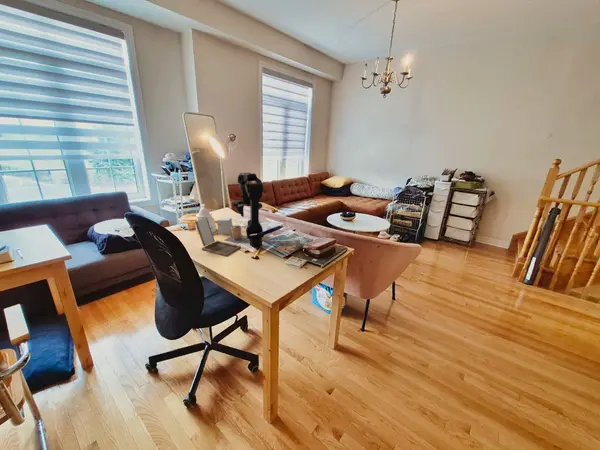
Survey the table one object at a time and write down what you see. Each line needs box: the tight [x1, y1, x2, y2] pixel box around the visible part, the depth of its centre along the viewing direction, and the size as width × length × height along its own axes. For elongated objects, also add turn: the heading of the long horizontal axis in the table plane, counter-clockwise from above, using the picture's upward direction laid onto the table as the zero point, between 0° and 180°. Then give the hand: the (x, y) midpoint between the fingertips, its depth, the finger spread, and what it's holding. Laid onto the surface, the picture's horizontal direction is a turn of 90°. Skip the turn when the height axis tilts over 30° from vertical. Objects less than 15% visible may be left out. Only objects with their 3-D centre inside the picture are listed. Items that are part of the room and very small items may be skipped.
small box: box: [216, 217, 233, 235], centre depth 161 cm, size 8×6×10 cm
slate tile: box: [224, 234, 248, 244], centre depth 152 cm, size 11×11×1 cm
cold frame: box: [201, 217, 241, 257], centre depth 137 cm, size 24×12×17 cm, turn 63°
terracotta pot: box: [231, 225, 242, 240], centre depth 151 cm, size 6×6×8 cm
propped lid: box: [194, 217, 216, 247], centre depth 140 cm, size 15×8×1 cm
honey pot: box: [195, 203, 217, 235], centre depth 165 cm, size 13×13×18 cm
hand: (248, 217), depth 154 cm, fingers open, 9 cm apart
